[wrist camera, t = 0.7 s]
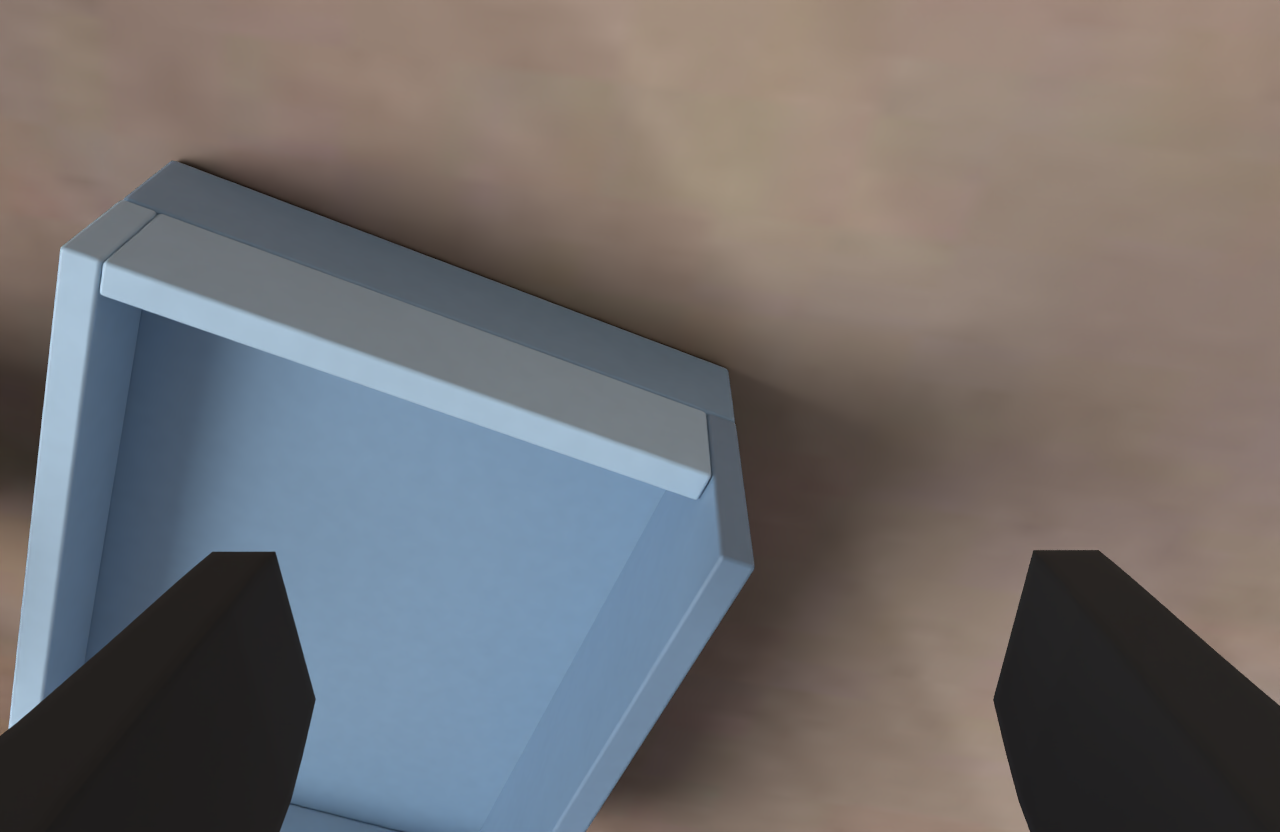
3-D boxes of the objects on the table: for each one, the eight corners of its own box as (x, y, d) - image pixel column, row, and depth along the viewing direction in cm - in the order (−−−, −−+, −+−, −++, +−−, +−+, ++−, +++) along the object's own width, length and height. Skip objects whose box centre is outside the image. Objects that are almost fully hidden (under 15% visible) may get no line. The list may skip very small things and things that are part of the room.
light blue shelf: (495, 799, 27) (459, 1030, 22) (84, 690, 25) (-60, 919, 20) (730, 368, 20) (757, 568, 15) (172, 157, 18) (-22, 307, 12)
